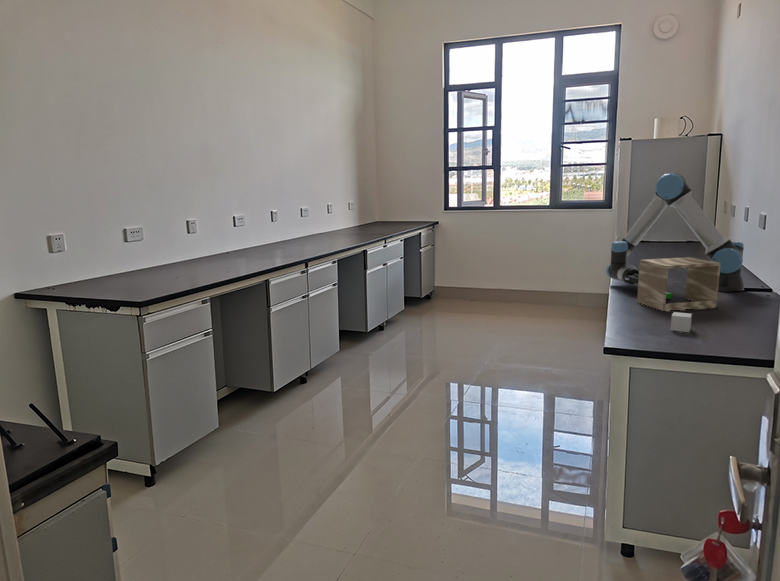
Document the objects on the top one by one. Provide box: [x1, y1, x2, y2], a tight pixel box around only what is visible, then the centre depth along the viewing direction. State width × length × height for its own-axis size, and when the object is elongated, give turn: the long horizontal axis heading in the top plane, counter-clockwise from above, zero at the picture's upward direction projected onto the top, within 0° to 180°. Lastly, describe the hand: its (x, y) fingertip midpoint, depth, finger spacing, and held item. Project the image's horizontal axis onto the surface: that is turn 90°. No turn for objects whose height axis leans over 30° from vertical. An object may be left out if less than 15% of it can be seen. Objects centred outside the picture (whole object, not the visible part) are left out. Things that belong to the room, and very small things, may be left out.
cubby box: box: [636, 256, 721, 312], centre depth 244 cm, size 25×18×19 cm
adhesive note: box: [670, 311, 693, 333], centre depth 207 cm, size 6×6×6 cm
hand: (659, 284), depth 256 cm, fingers closed on mechanical part, 2 cm apart
